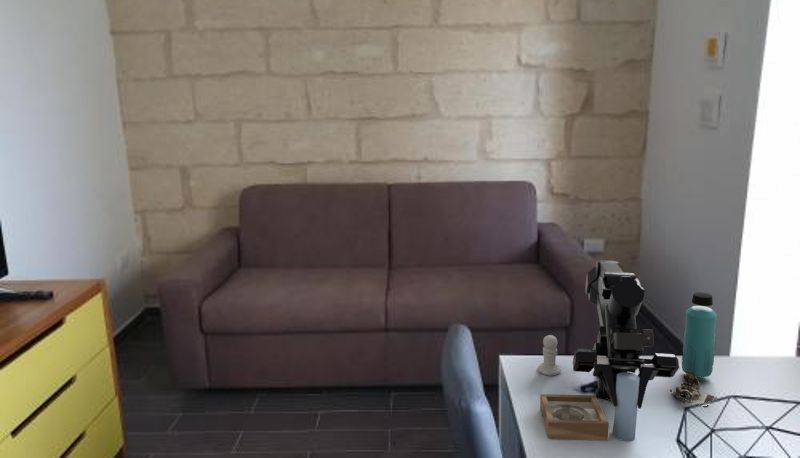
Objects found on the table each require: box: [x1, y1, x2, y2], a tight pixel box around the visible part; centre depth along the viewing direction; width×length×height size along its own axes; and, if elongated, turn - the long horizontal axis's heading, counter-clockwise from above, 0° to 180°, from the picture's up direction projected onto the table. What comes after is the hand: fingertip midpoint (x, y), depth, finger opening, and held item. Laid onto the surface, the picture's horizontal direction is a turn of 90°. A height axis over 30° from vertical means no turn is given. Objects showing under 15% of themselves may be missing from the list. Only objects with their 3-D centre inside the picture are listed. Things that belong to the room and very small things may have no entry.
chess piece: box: [537, 334, 562, 377], centre depth 141 cm, size 5×5×9 cm
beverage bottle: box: [680, 291, 718, 378], centre depth 136 cm, size 6×7×20 cm
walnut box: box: [539, 393, 610, 442], centre depth 119 cm, size 11×11×4 cm
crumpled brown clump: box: [669, 370, 719, 408], centre depth 127 cm, size 12×6×11 cm
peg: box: [612, 372, 640, 442], centre depth 114 cm, size 4×4×12 cm
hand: (627, 407), depth 112 cm, fingers closed on peg, 4 cm apart
